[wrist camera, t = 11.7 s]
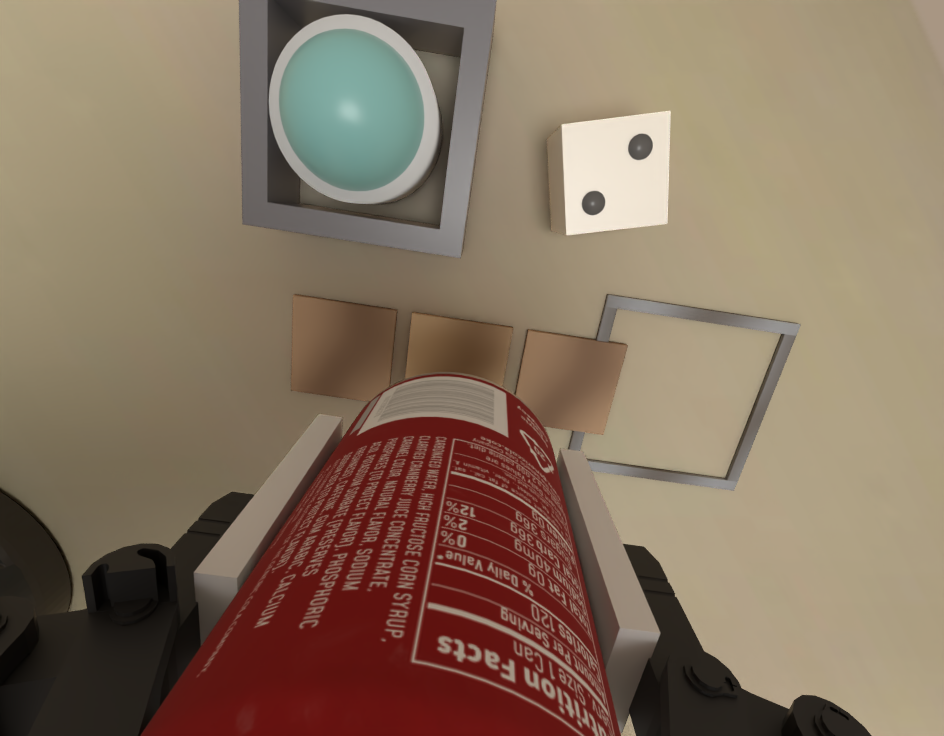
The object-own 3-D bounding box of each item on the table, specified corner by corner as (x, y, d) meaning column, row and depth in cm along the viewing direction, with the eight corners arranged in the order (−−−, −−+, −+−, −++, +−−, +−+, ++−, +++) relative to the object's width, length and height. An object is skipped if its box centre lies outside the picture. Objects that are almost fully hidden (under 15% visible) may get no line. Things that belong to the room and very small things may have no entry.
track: (292, 427, 25) (290, 430, 25) (296, 246, 22) (293, 246, 22) (732, 488, 27) (734, 491, 26) (798, 323, 23) (802, 325, 23)
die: (551, 231, 22) (566, 235, 18) (546, 140, 21) (562, 124, 17) (634, 221, 22) (668, 223, 18) (634, 129, 20) (671, 110, 17)
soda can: (366, 343, 14) (-177, 889, 3) (577, 390, 14) (898, 1094, 3) (340, 519, 16) (-18, 1226, 5) (523, 559, 16) (584, 1332, 5)
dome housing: (277, 221, 22) (242, 224, 19) (279, -3, 19) (238, -48, 16) (463, 250, 22) (460, 258, 19) (493, 35, 19) (496, -1, 16)
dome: (298, 192, 20) (239, 187, 15) (301, 32, 18) (235, -34, 13) (433, 214, 20) (419, 215, 15) (451, 58, 18) (442, 3, 13)
